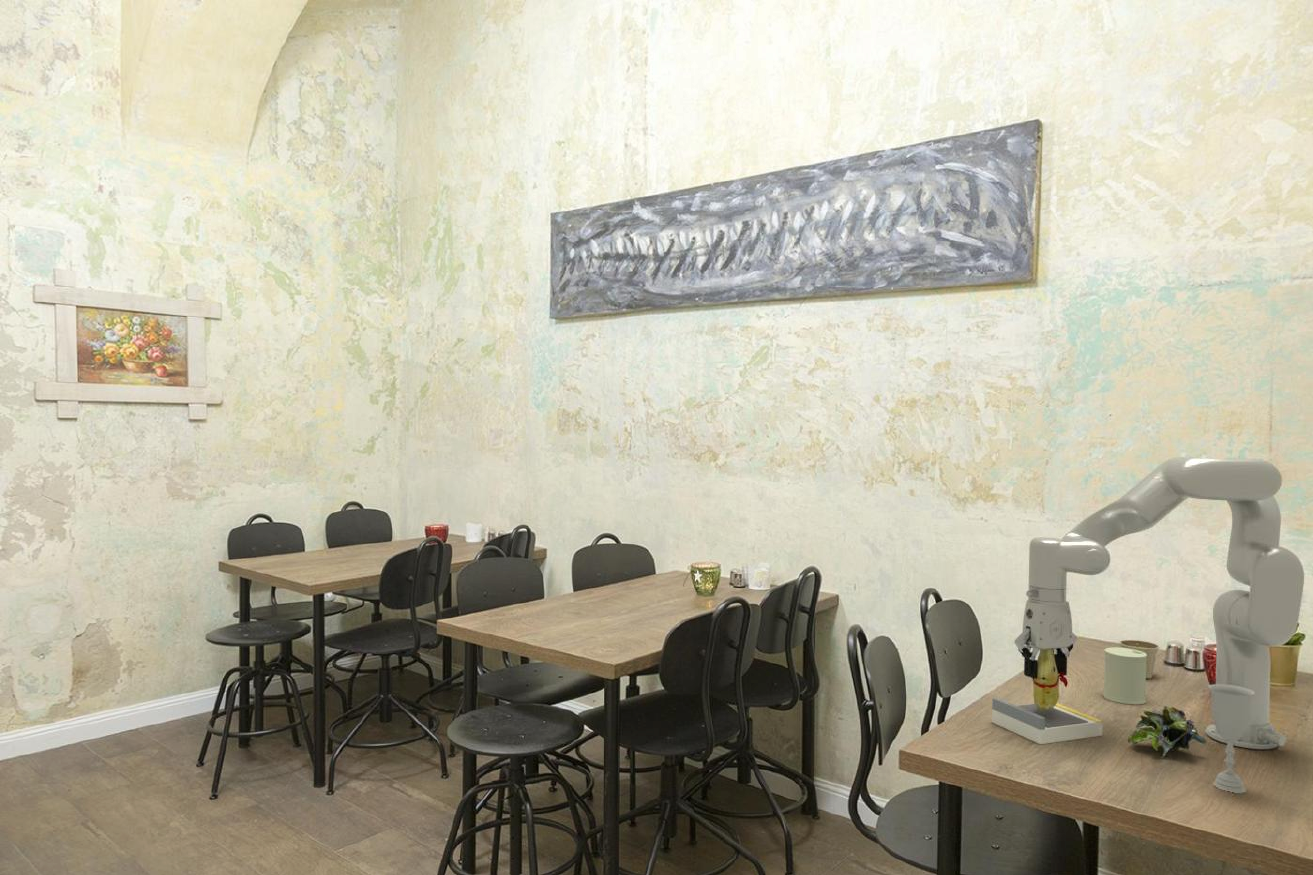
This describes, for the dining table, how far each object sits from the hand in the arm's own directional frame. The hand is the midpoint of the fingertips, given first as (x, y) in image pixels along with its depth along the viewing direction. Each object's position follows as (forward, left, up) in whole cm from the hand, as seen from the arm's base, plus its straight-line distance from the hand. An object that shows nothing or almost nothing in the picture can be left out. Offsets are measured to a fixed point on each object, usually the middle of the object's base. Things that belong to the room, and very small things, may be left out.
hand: (1045, 674), depth 187 cm
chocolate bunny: (0, -1, -7) cm, 7 cm away
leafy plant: (-19, -13, -12) cm, 26 cm away
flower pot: (+25, -57, -12) cm, 63 cm away
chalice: (-35, -9, -12) cm, 38 cm away
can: (+11, -36, -12) cm, 40 cm away
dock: (0, -1, -12) cm, 12 cm away
